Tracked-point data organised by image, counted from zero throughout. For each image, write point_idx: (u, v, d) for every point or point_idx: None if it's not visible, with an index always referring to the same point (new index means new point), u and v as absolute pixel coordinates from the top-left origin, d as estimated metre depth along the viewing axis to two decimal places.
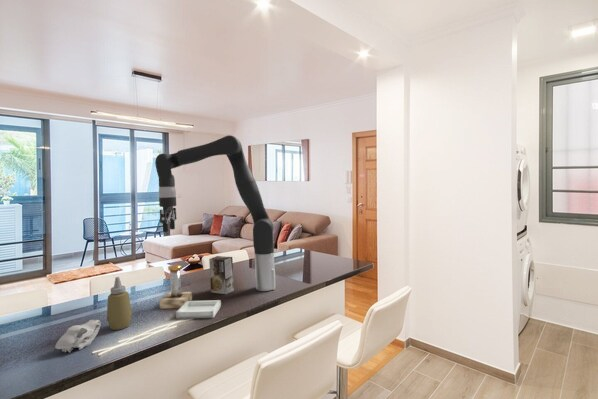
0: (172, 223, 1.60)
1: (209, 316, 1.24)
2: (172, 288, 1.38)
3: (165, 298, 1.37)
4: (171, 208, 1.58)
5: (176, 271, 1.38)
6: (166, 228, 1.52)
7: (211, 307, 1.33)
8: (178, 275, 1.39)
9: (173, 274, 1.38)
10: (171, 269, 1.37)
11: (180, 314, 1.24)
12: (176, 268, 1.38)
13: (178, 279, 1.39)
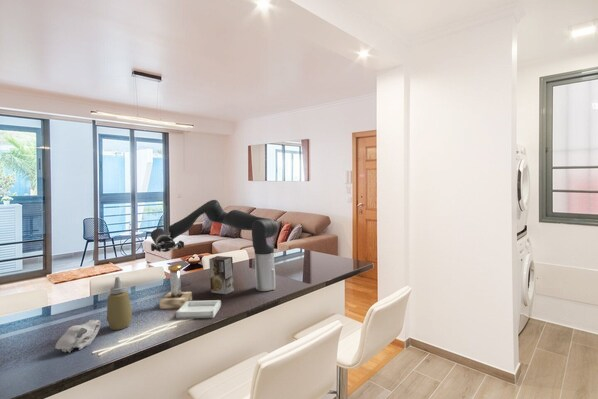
0: None
1: (209, 316, 1.24)
2: (172, 288, 1.38)
3: (165, 298, 1.37)
4: None
5: (176, 271, 1.38)
6: None
7: (211, 307, 1.33)
8: (178, 275, 1.39)
9: (173, 274, 1.38)
10: (171, 269, 1.37)
11: (180, 314, 1.24)
12: (176, 268, 1.38)
13: (178, 279, 1.39)
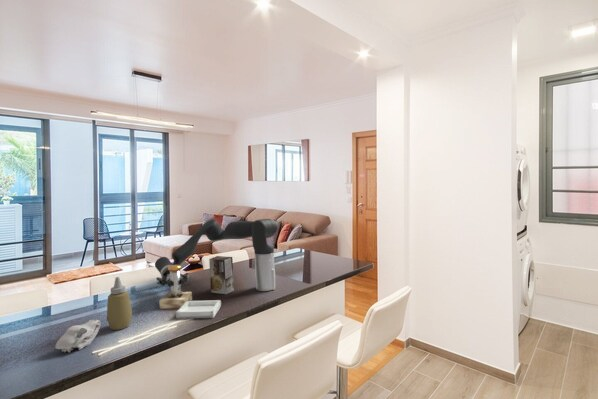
0: None
1: (209, 316, 1.24)
2: (172, 288, 1.38)
3: (165, 298, 1.37)
4: None
5: (176, 271, 1.38)
6: None
7: (211, 307, 1.33)
8: (178, 275, 1.39)
9: (173, 274, 1.38)
10: (171, 269, 1.37)
11: (180, 314, 1.24)
12: (176, 268, 1.38)
13: (178, 279, 1.39)
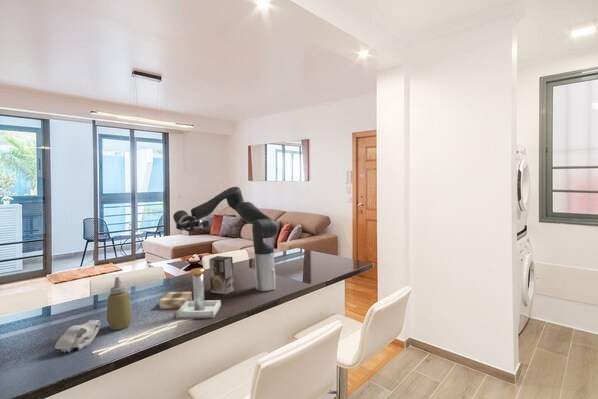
0: None
1: (209, 316, 1.24)
2: (195, 293, 1.28)
3: (165, 298, 1.37)
4: None
5: (199, 275, 1.28)
6: None
7: (211, 307, 1.33)
8: (201, 279, 1.29)
9: (196, 278, 1.28)
10: (194, 273, 1.27)
11: (180, 314, 1.24)
12: (200, 272, 1.27)
13: (201, 283, 1.29)
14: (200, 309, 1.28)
